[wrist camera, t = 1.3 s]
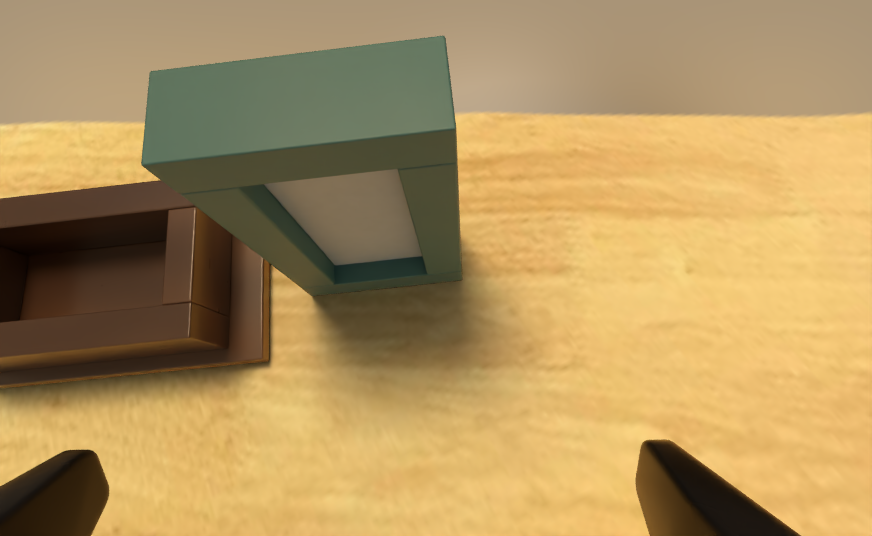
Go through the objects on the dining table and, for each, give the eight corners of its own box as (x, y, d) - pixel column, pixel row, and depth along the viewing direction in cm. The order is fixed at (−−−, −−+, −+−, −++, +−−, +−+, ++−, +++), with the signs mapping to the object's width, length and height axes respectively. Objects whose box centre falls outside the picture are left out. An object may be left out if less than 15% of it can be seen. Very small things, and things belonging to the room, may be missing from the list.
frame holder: (269, 361, 22) (228, 350, 18) (-32, 391, 22) (-134, 387, 19) (270, 198, 24) (233, 158, 21) (-3, 229, 25) (-89, 195, 21)
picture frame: (462, 280, 23) (456, 129, 11) (311, 296, 23) (140, 165, 11) (456, 229, 23) (445, 34, 11) (310, 245, 24) (148, 70, 12)
